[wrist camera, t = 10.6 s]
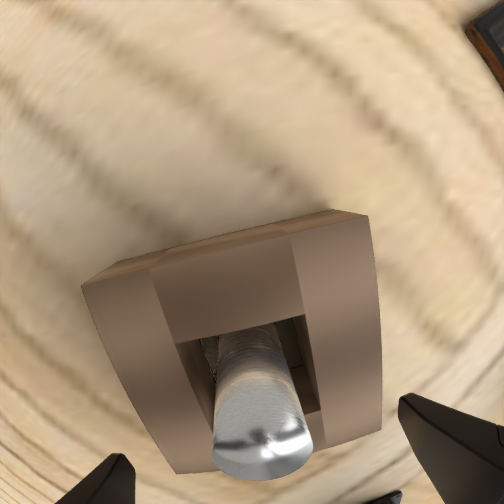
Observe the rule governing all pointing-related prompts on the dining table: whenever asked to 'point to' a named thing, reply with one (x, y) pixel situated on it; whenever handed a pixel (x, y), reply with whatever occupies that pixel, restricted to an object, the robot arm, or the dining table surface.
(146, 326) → the square hollow frame
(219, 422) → the cylinder
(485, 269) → the dining table surface
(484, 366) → the dining table surface
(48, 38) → the dining table surface
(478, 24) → the framed icon painting
